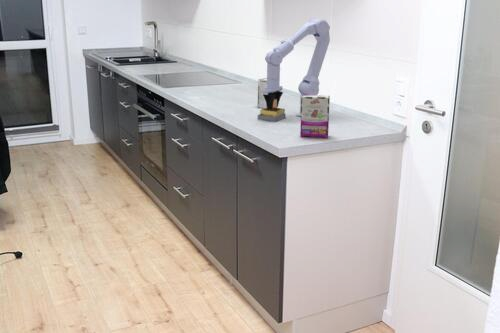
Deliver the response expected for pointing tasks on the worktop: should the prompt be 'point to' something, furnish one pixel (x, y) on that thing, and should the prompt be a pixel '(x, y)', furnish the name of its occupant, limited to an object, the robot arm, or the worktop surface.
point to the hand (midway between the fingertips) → (272, 108)
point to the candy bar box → (314, 116)
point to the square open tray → (271, 115)
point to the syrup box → (261, 93)
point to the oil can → (274, 105)
